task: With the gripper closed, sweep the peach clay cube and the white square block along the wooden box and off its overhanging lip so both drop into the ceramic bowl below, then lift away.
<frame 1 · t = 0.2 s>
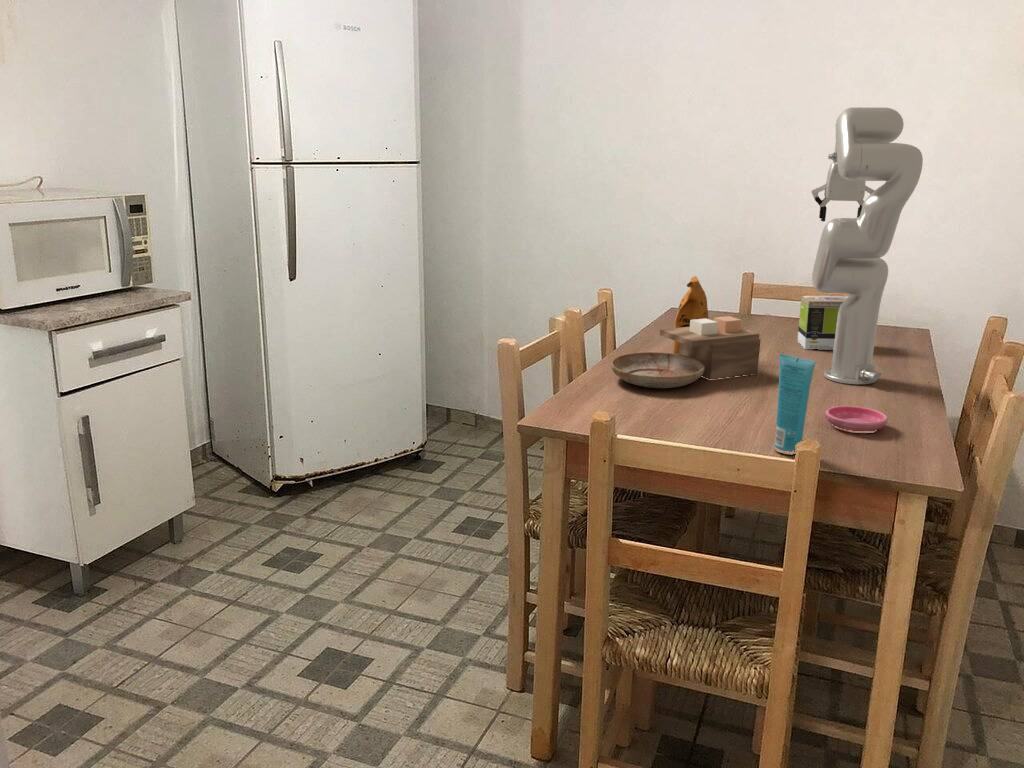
hand: (840, 221, 237), 37 cm above the table, tool pointing down, fingers open, 9 cm apart
saucer: (854, 428, 181), on the table
ceramic bowl: (656, 382, 213), on the table
coffee package: (688, 357, 238), on the table
tea box: (825, 347, 250), on the table
tube: (787, 452, 166), on the table
peach clay cube: (726, 329, 220), point 11 cm above the table, touching wooden box
wooden box: (715, 371, 223), on the table
white square block: (703, 332, 217), point 11 cm above the table, touching wooden box
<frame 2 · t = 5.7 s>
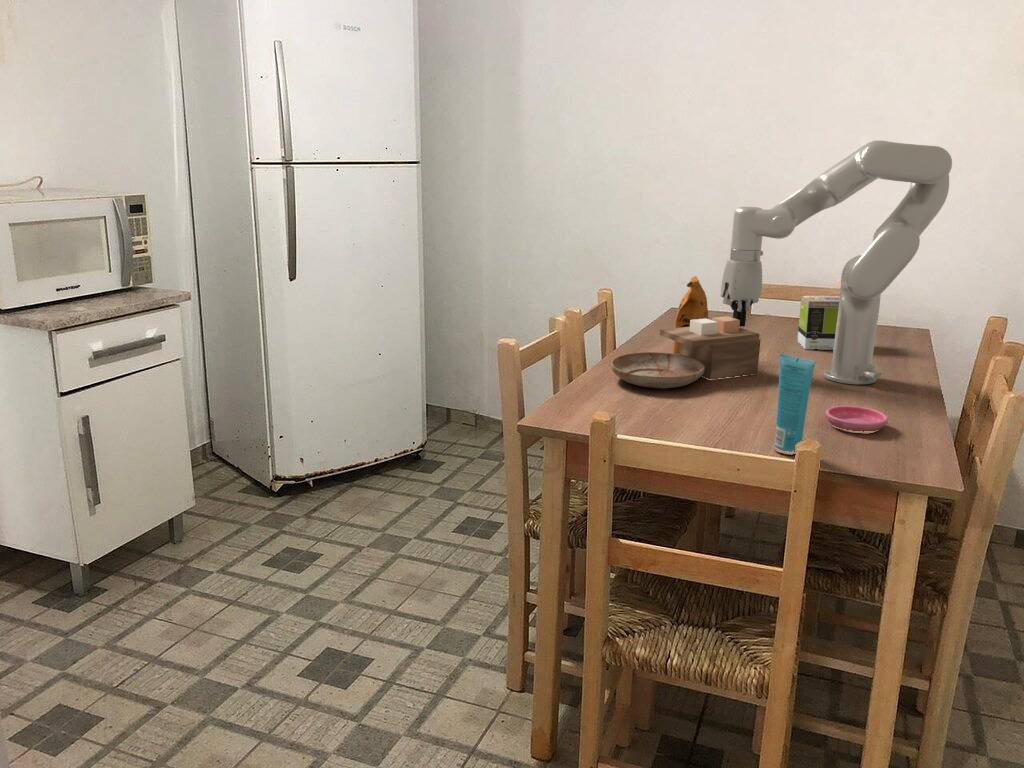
hand: (738, 325, 222), 12 cm above the table, tool pointing down, fingers closed
peach clay cube: (725, 330, 220), point 11 cm above the table, touching wooden box, gripper
everything else where it was.
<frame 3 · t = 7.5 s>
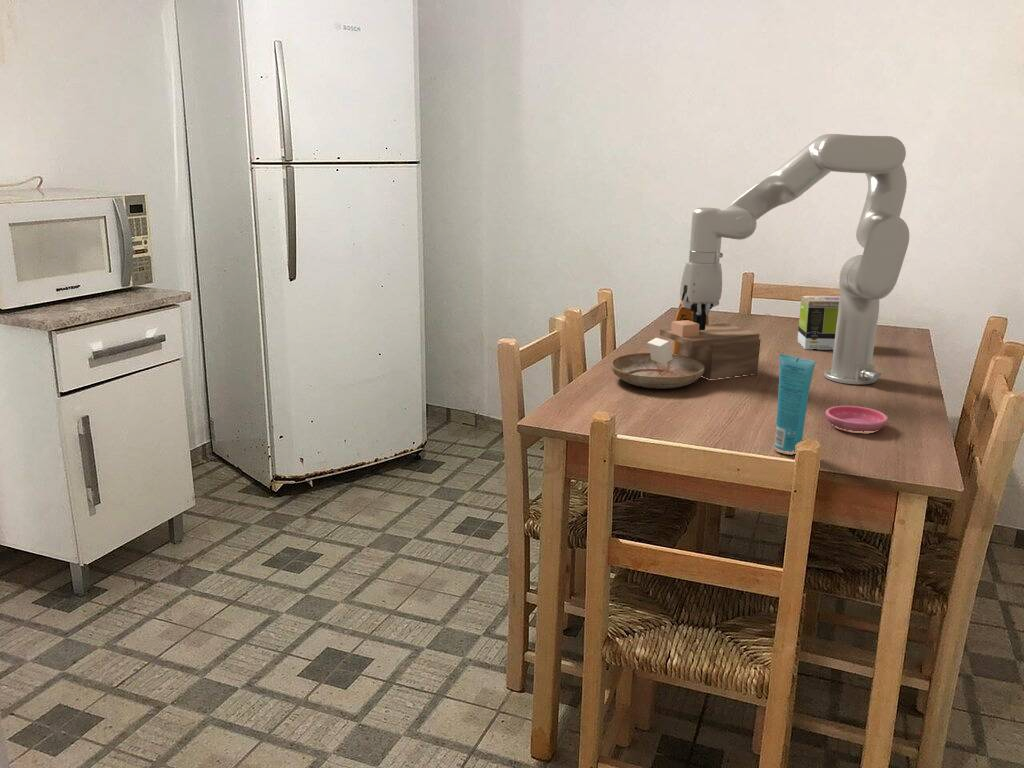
hand: (698, 329, 217), 12 cm above the table, tool pointing down, fingers closed
peach clay cube: (684, 334, 215), point 11 cm above the table, touching gripper
white square block: (664, 348, 213), point 8 cm above the table, tilted 109°
everything else where it was.
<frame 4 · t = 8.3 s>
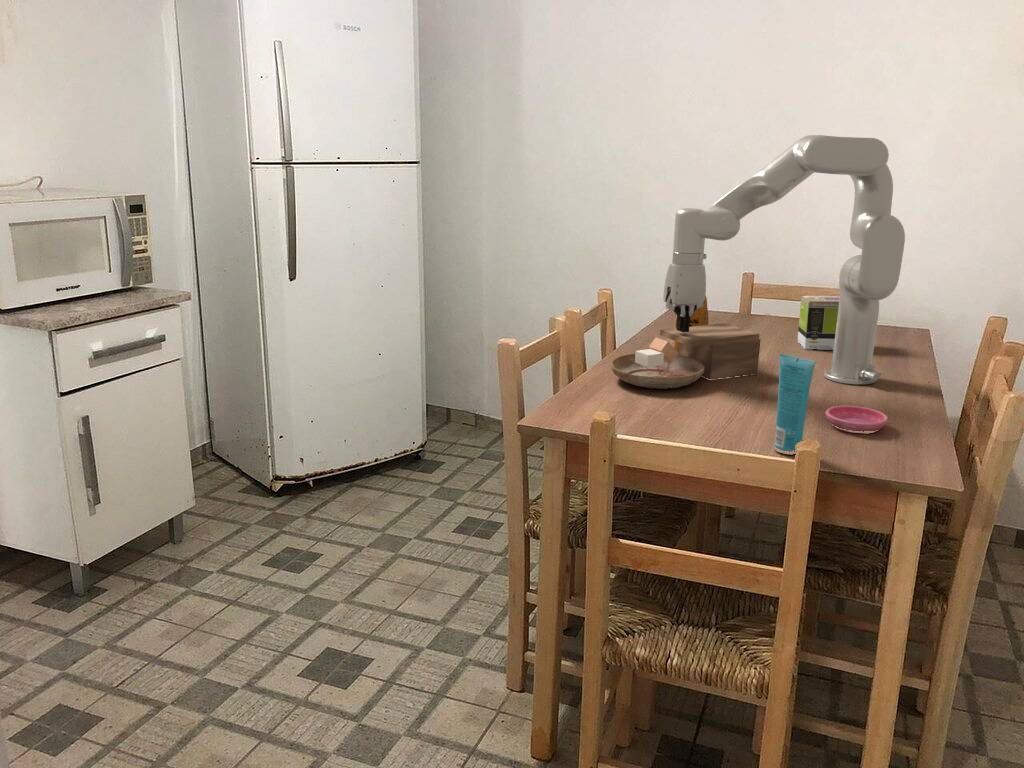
hand: (682, 331, 215), 12 cm above the table, tool pointing down, fingers closed
ceramic bowl: (655, 383, 213), on the table, touching peach clay cube, white square block
peach clay cube: (667, 345, 214), point 9 cm above the table, tilted 137°, touching ceramic bowl
white square block: (649, 352, 211), point 8 cm above the table, tilted 180°, touching ceramic bowl
everything else where it was.
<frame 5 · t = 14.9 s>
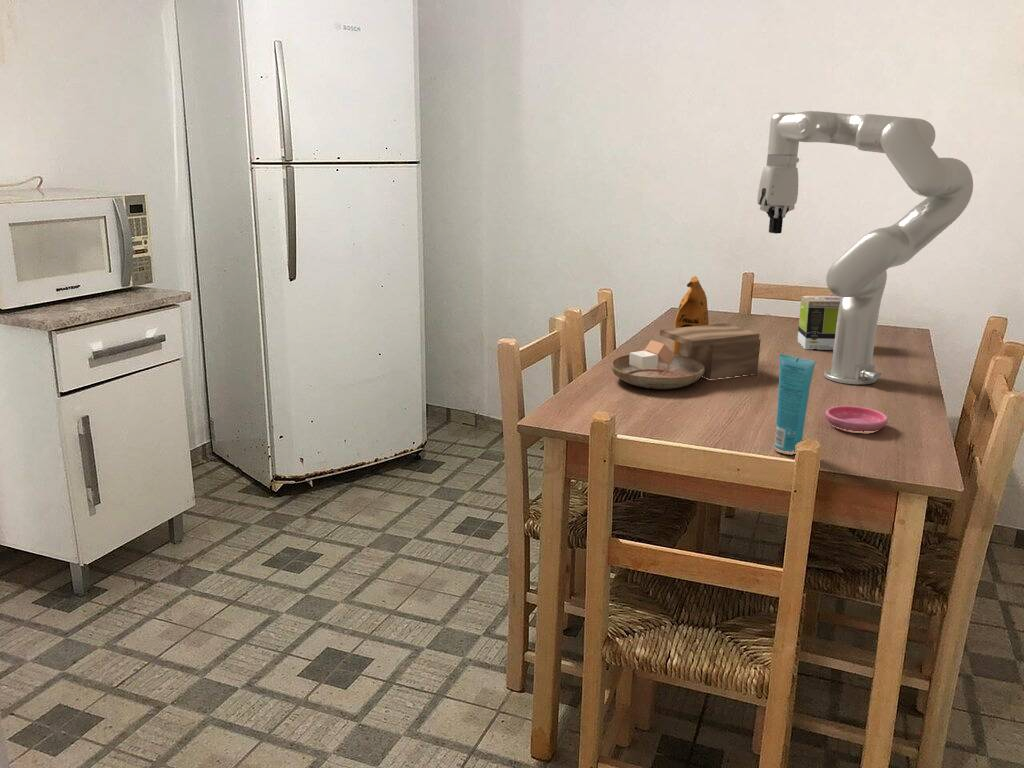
hand: (774, 232, 225), 35 cm above the table, tool pointing down, fingers closed
peach clay cube: (663, 347, 212), point 9 cm above the table, tilted 140°, touching ceramic bowl
white square block: (643, 353, 209), point 8 cm above the table, tilted 180°, touching ceramic bowl
everything else where it was.
at the end: white square block inside the target area on the ceramic bowl (4.1 cm from its centre), point 8.2 cm above the ceramic bowl's base; peach clay cube inside the target area on the ceramic bowl (2.1 cm from its centre), point 9.1 cm above the ceramic bowl's base; white square block point 7.6 cm above the table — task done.
